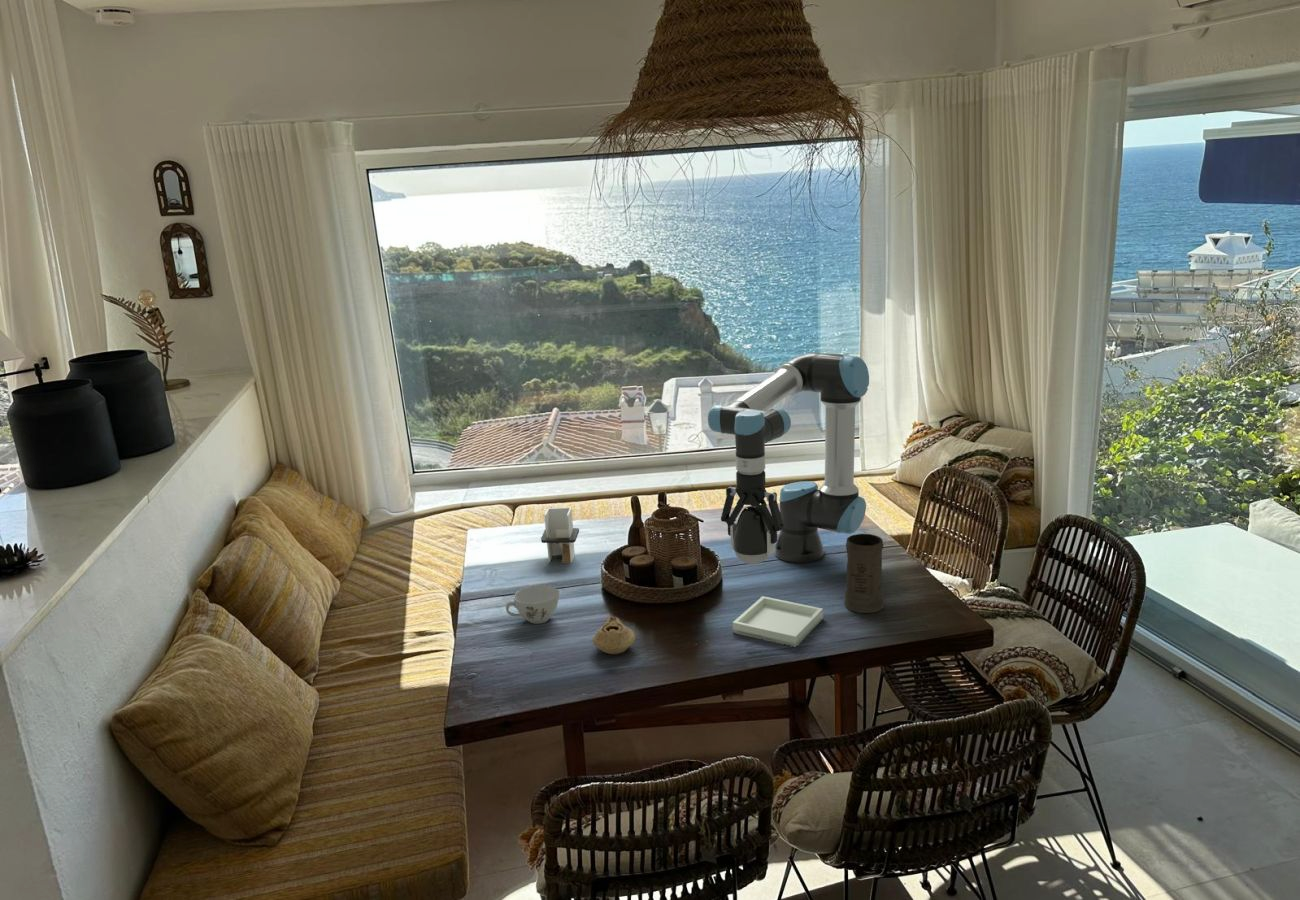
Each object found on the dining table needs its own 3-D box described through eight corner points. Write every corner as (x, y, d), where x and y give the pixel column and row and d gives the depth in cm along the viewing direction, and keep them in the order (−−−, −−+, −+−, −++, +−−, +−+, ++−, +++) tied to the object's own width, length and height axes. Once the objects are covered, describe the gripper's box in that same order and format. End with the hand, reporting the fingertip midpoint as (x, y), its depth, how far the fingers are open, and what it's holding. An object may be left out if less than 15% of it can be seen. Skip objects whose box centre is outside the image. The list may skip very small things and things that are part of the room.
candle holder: (516, 575, 295) (511, 526, 290) (530, 546, 318) (526, 500, 314) (595, 573, 293) (591, 524, 288) (604, 544, 316) (600, 498, 312)
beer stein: (884, 615, 255) (885, 545, 250) (844, 613, 257) (844, 543, 253) (882, 595, 269) (883, 528, 265) (844, 593, 272) (844, 527, 267)
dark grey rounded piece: (741, 570, 244) (739, 515, 240) (728, 556, 254) (726, 502, 250) (778, 564, 247) (777, 510, 242) (764, 550, 256) (762, 498, 252)
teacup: (555, 606, 271) (553, 580, 269) (565, 624, 260) (563, 598, 257) (503, 616, 267) (501, 590, 265) (511, 634, 255) (508, 607, 253)
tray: (762, 605, 264) (762, 596, 264) (822, 618, 255) (822, 608, 254) (732, 632, 250) (732, 622, 249) (795, 647, 240) (795, 636, 240)
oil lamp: (627, 631, 254) (625, 604, 252) (641, 657, 240) (639, 628, 238) (587, 638, 251) (585, 610, 249) (598, 664, 237) (596, 635, 235)
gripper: (705, 469, 247) (708, 548, 253) (783, 480, 234) (785, 563, 240) (719, 461, 253) (722, 538, 259) (797, 472, 240) (797, 553, 246)
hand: (752, 550), depth 250 cm, fingers closed on dark grey rounded piece, 10 cm apart
